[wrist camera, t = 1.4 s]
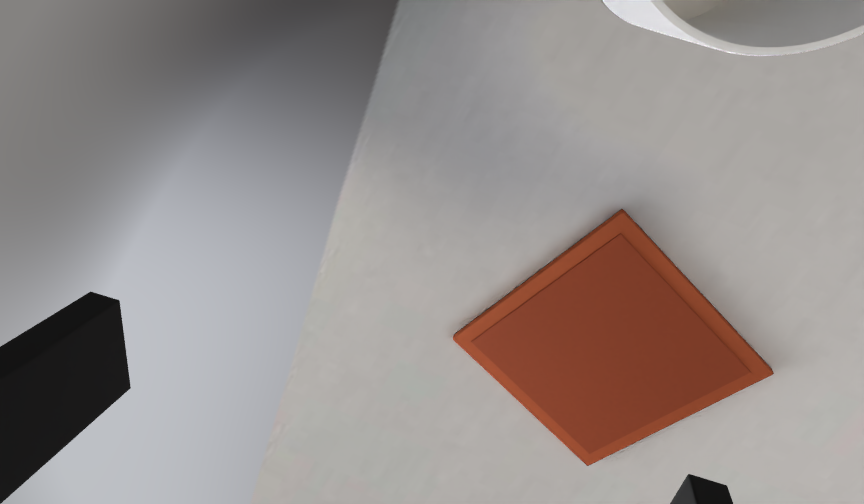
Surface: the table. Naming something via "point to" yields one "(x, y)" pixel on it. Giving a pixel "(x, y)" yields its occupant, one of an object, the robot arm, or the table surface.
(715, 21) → the cup
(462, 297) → the table surface
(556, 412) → the mat
